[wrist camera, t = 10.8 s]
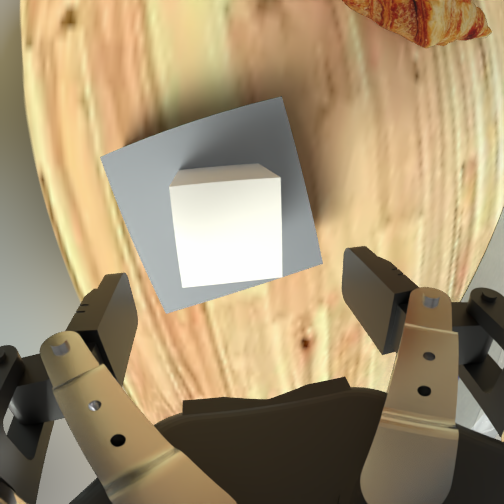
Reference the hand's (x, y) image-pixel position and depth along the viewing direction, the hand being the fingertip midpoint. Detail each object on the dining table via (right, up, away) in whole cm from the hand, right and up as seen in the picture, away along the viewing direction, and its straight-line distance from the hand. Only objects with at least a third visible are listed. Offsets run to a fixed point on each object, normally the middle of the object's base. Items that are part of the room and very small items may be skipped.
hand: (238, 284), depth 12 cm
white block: (-1, +4, +9) cm, 10 cm away
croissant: (+15, +25, +10) cm, 31 cm away
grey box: (-3, +6, +15) cm, 16 cm away
